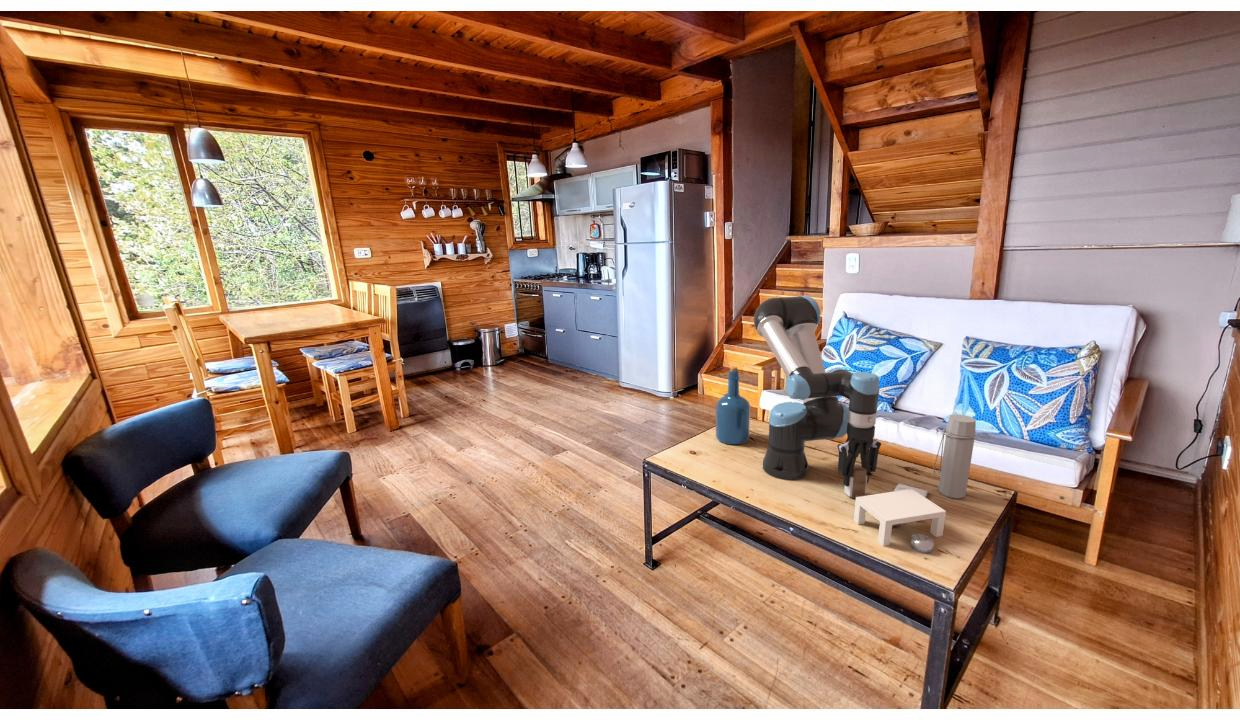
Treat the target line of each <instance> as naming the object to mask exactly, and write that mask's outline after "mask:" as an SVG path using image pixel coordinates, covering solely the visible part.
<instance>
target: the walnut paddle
mask: <svg viewBox="0 0 1240 720" xmlns="http://www.w3.org/2000/svg"><path fill="white" fill-rule="evenodd" d="M866 474H867V470H866V469H865V468H863V467H862V466H861V464H859V463H855V465H854V468H853V472H852V475H851V476H852V477H853V489H852V497H851V498H852V499H856V497H861V496H867V494H865V485H866V486H867V484H866ZM899 526H902V523H901V524H895V525H892V528H893V527H899Z"/></svg>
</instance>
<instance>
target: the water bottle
mask: <svg viewBox="0 0 1240 720" xmlns="http://www.w3.org/2000/svg"><path fill="white" fill-rule="evenodd" d="M976 422H977V421H976V418H974V417H972V416H969V415H967V414H959V413H957V414H951V415H949V417H948V421H947V423H946V429H942V433H941V434H942V436H941V440H940V443H939V447H938V451H937V454H936V457H935V461H934V463H933V475H935V476H939V481H938V482H939V483H938V492H939V493H940V494H942V495H943V496H945V497H947V498H951V499H963V498H964V497H966V495H967V490H968V489H967V488H968V483H969V475H970V470H971V462H972V457H973V450H974V446H975V445H974V443H975V438H976V424H977V423H976ZM944 437H945V438H944ZM940 449H941V453H940ZM939 454H940V461H939V470H938V471H939V472H938V473H936V469H935V468H936V463H937V461H938V457H939Z"/></svg>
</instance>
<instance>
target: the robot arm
mask: <svg viewBox="0 0 1240 720" xmlns="http://www.w3.org/2000/svg"><path fill="white" fill-rule="evenodd" d="M820 321H821V308H820V306H819V303H818V301H816V299H815V298H813V297H811V296H808V295H807V296H804V295H797V296H787V297H772V298H768V299H766V300H764V301H763V302H761V303H760V304H759V305H758V306H757V308H756V310H755V312H754V315H753V325H754V328H755V330H756V333H757V334H758V335H759V336H760V337H762V338H764V340H765V342H766V343H767V345H768V346H769V349H770V350H771V352H772V354H773V356H774V358H775V359H776V360H777V362H778V364H779V366H780V367H781V369H782V371H783V373H784V374H785V376H786V379H785V383H784V384H785V385H784V386H785V391H786V394H787V396H788V397H789V398H790V399H792V400H804V401H803V402H802V403H801V402H797V401H793V402H792V401H787V402H786V401H785V402H780V403H778V404H776V405H774V406H773V407H772V408H771V409H770V411H769V412H770V413H769V419H768V423H769V426H768V430H769V431H768V433H769V434H768V448H767V450H766V452H765V454H764V457H763V459H762V469H763V471H764V473H766V474H768V475H770V476H771V477H774V478H777V479H782V480H799V479H803V478H805V477H806V476H807V475H808V473H809V462H808V460H807V456H806V452H805V442H811V441H813V442H814V441H821V440H822V441H823V440H834V439H840V438H843V437H845V436H847V438H846V440H845V443H843V444H841V443H839V444H837V446H836V447H837V450H838V461H837V462H838V463H837V464H838V465H837V473H838V474H840V475H841V476H843V481H842V483H843V485H844V490H843V491H844V492H843V493H844V494H846V496H848V497H851V498H852V489H853V477H852V476H851V475H852V472H853V468H854V465H855V464H856V462H857V461H856V460H857V458H859V456H860V466H862V467H863V468H865V469H866V470H867V474H866V485H865V495H867V494H866V492H867V484H869V481H870V477H872V476H873V473H876V472H877V465H878V457H879V452H880V451H879V450H880V448H881V446H882V442H881V441H879V440H877V439H874V438H875V435H876V433H875V432H876V431H875V430H876V426H875V425H876V423H877V410H878V403H879V397H880V396H879V395H880V390H881V389H880V378H879V376H878V375H877V374H875V373H872V372H871V373H870V372H867V371H857V372H854V373H852V372H851V371H849V370H847V369H843V368H838V367H836V368H832V369H831V370H828V372H826V370H825V365H824V363H823V358H822V355H821V350H820V348H819V344H818V339H817V337H816V333H815V332H816V330H817V329H818V325H819V324H820ZM840 396H841V397H844V398H846V399H847V400H849V401H848V407H847V405H846V404H845V403H842V402H841V403H839V402H840V401H839V398H838V397H840Z"/></svg>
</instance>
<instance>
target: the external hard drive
mask: <svg viewBox="0 0 1240 720" xmlns="http://www.w3.org/2000/svg"><path fill="white" fill-rule="evenodd" d="M907 489H913V490H914V491H916V492H917V493H919V494H920V495H922V496H924V497H925V498H927V496H928V491H927V490H924V489H922V488H917V487H914V486H910V485H907V484H903V483H897V485H896V486H895V488H894V490H893V491H892V492H894V491H901V490H907Z"/></svg>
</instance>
